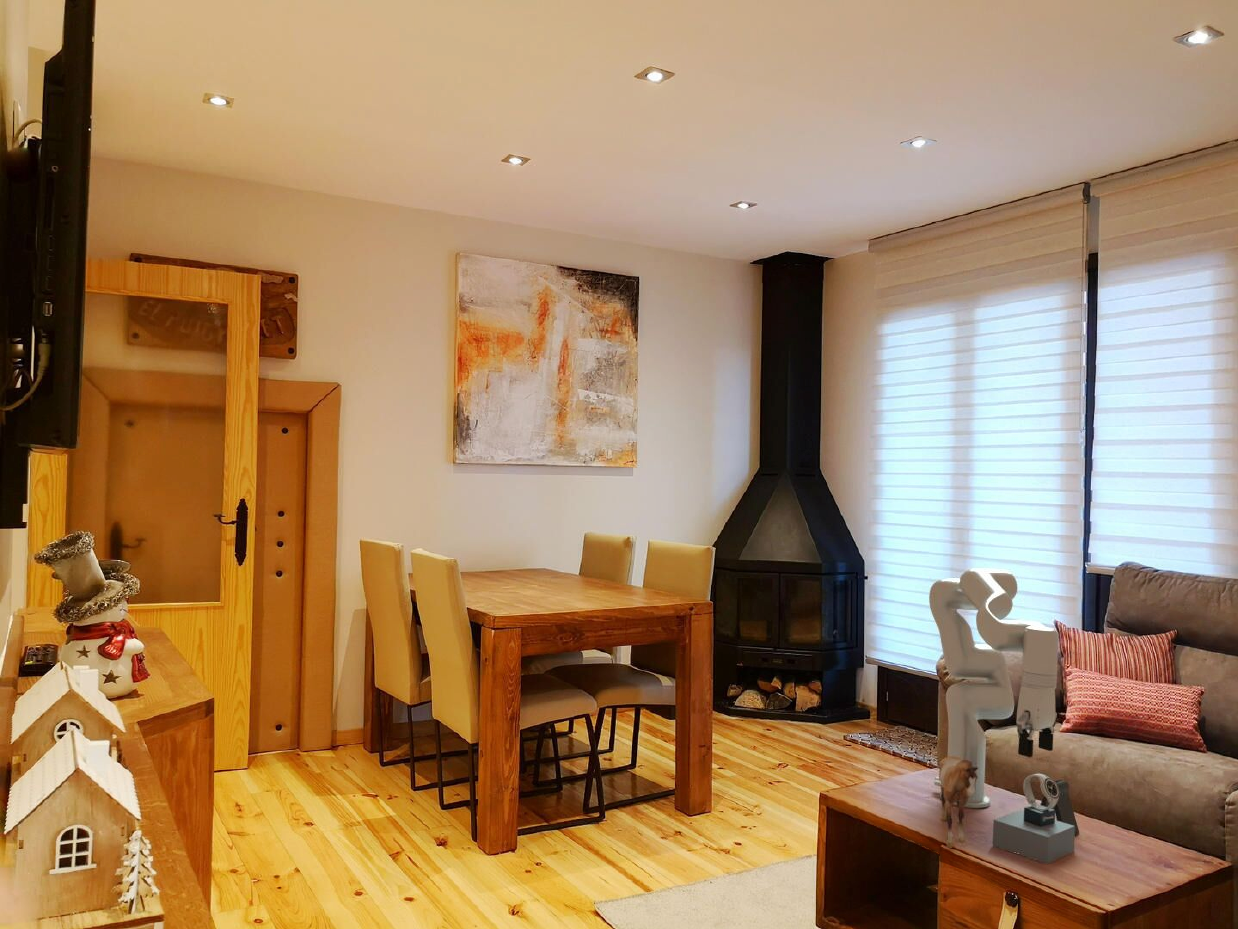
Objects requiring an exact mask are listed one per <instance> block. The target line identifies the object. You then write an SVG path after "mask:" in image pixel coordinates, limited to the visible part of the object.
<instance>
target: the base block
mask: <svg viewBox="0 0 1238 929" xmlns="http://www.w3.org/2000/svg"><path fill="white" fill-rule="evenodd" d="M992 825H993V828H992V846H993V847H995V846H997V847H996V848H998V847H999V848H998V849H1001V848H1002V850H1006V851H1008V852H1010V853H1013V852H1016V853H1019V854H1021V855H1020V856H1022V855H1024V856H1023V857H1025V856H1026V857H1025V858H1028V857H1029V858H1028V859H1030V860H1031V859H1032V860H1034V859H1036V860H1035V861H1037V860H1038V861H1037V862H1040V861H1041V862H1040V863H1043V864H1047V865H1049V864H1050V863H1053V862H1055V861H1057V860H1059V859H1060V860H1061V859H1062V858H1063V857H1066V856H1068V855H1070V854H1073V853H1075V835H1074V833H1075V826H1073V825H1070V824H1066V823H1063V822H1060V821H1057V819H1055V823H1054V824H1050V825H1046V826H1042V827H1039V826H1037V825H1034V824H1031V823H1028V822H1026V821H1024V809H1023V810H1022V809H1019V810H1016V811H1013V812H1012V813H1008V814H1005V815H1003V816H1000V817H997V818H994V819H993V823H992ZM1072 852H1073V853H1072ZM1016 853H1015V854H1016ZM1019 854H1018V855H1019ZM1056 859H1057V860H1056Z"/></svg>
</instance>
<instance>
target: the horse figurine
mask: <svg viewBox="0 0 1238 929" xmlns="http://www.w3.org/2000/svg"><path fill="white" fill-rule="evenodd" d="M977 769H978V767H973V766H972V762H970V761H968V760H963V759H961V758H958V757H948V756H946V757H944V758H942V759H941V760H940V762H939V769H938V770H939V773H938V775H939V776H938V777H939V780H940V783H941V787H940V792H942V793H941V798H942V799H941V798H940V799H941V813H940V818H941V820H943V821H946V823H947V838H948V839H947V840H946V847H947V848H948V849H952V848H954V841H953V831H952V829H953V822H954V820H953V817H952V816H953V804H954V803H956V802H957V805H956V807H957V818H958V820H957V826H958V827H957V830H958V841H959V842H960V843H965V842H966V840H965V836H964V830H963V828H964V825H965V824H964V816H965V814H964V810H965V808H966V807H965V805H966V804H967V801H968V798H969V796H973V795H974V794H975V793H976V792H975V788H974V784H975V782H976V779H977V778H978V776H977V775H976V773H975V771H976V770H977Z"/></svg>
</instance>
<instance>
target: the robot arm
mask: <svg viewBox="0 0 1238 929" xmlns="http://www.w3.org/2000/svg"><path fill="white" fill-rule="evenodd" d="M1017 593H1018V582H1017V580H1016V578H1015V576H1014V575H1013V573H1011V572H1010V571H1009V570H1005V569H1002V568H1001V569H1000V568H999V569H998V568H971V569H968V570H966V571H965V572H963V573H962V574H961V575H960V578H943V579H939V580H937V581H935V582H933V584H932V585H931V587H930V589H929V595H928V599H929V600H928V602H929V608H930V612H931V614H932V617H933V619H934V621H935V624H936V627H937V630H938V632H939V638H940V642H941V648H942V653H943V659H944V664H945V668H946V671H947V673H948V675H949V676H950V677H952V678H955V679H964V680H965V679H966V680H983V681H984V682H974V681H973V682H971V681H968V682H967V681H965V682H964V681H963V682H962V681H961V682H956V683H954V684H951V685H950V686H949V687H948V688H947V690H946V694H945V703H946V710H947V721H948V724H947V725H948V730H947V731H948V733H947V734H948V735H947V736H948V737H947V738H948V739H947V757H958V758H961V759H963V760H968V761H970V762H972V766H973V767H978V769H977V770H976V771H975V773H976V775H977V776H978V778H977V779H976V782H975V784H974V788H975V792H976V793H975V794H974V795H973V796H969V798H968V801H967V804H966V805H965V807H964V808H969V809H982V808H987V807H989V805H990V804H991V803H990V802H991V800H990V798H989V797H987V795H985V779H986V778H985V776H986V774H985V772H986V771H985V770H986V752H987V751H986V749H987V746H986V743H987V742H986V740H987V738H986V734H985V731H984V730H983V728H982V726H981V725H980V723H979V722H978V721H979V720H1005V719H1009V718H1010V717H1011V716H1012V715H1013V714H1014V713H1013V712H1014V708H1015V699H1014V695H1013V694H1014V693H1013V689H1012V688H1013V687H1012V683H1011V680H1010V674H1009V669H1008V664H1007V661H1006V658H1005V656H1004V654H1003V653H1004V652H1005V653H1006V652H1008V653H1009V652H1010V653H1011V652H1013V653H1022V664H1021V682H1020V683H1021V685H1020V686H1021V687H1020V690H1019V695H1018V696H1019V697H1018V703H1017V711H1016V726H1017V727H1016V728H1017V729H1016V732H1017V733H1018V734H1017V737H1018V750H1017V753H1018V755H1020V756H1023V757H1027V758H1033V757H1034V756H1033V755H1034V740H1033V736H1034V734H1035V732H1038V745H1037V746H1038V748H1039V749H1041V750H1044V751H1049V752H1051V751H1053V749H1054V748H1053V747H1054V734H1055V726H1056V719H1057V717H1058V716H1057V715H1058V713H1057V712H1056V692H1055V690H1056V689H1057V683H1058V682H1057V680H1058V678H1057V676H1058V657H1059V656H1058V655H1059V632H1058V631H1057V630H1056V629H1055V628H1052V627H1047V626H1045V625H1043V623H1040V622H1037V621H1032V620H1031V621H1030V620H1029V621H1028V620H1010V619H1008V620H1005V618H1006V617H1008V615H1009V614H1010V613H1011V611H1012V608H1013V599H1014V598H1016V596H1017ZM958 610H962V611H963V610H966V611H977V612H976V617H975V618H976V619H975V621H976V622H975V623H976V630H977V632H978V635H979V637H981V639H982V640H983V641H984V642H985V643H986V644H981V643H980V644H979V643H976V642H975V641H974V637H973V632H972V628H971V626H970V624H969V622H968V621H967V620H966V618H965V617H964V616H962V615H961V614H960V613H959V611H958ZM933 784H934V786H936V787H940V788H941V783H940V780H939V776H936V777H935V779H934V783H933ZM941 793H942V792H941V791H940V793H939V798H940V799H941V800H942V798H941ZM953 805H954V806H957V802H956V803H954V804H953ZM953 805H952V806H953Z"/></svg>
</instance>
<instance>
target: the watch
mask: <svg viewBox="0 0 1238 929" xmlns="http://www.w3.org/2000/svg"><path fill="white" fill-rule="evenodd" d="M1034 777H1037V778H1038V780H1039V783H1040V790H1041V793H1042V795H1043V797H1044V796H1045V797H1046V798H1047V800H1048V803H1050V804H1049V805H1048V807H1045V806H1042V805H1040V804H1038V802H1037V801H1036V797H1035V795H1034V793H1033V790H1032V787H1031V780H1032V779H1033V778H1034ZM1055 781H1056V780H1054V779H1053V778H1051V777H1049V776H1048V775H1046V774H1043V773H1034V774H1029V775H1028V776H1026V777H1025V778H1024V781H1023V783H1022V784H1023V785H1022V786H1023V787H1022V790H1023V793H1024V794H1023V795H1024V797H1025V799H1026V801H1027V803H1028V804H1029V805H1030V806H1026V807H1023V811H1024V821H1026V822H1028V823H1031V824H1034V825H1037V826H1039V827H1042V826H1046V825H1050V824H1054V823H1055V820H1056V814H1055V810H1054V809H1051V808H1053V807H1054V806H1055V805H1056V804H1057V801H1058V798H1059V795H1060V792H1059V788H1058V786H1057V784H1056V783H1055Z"/></svg>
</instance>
